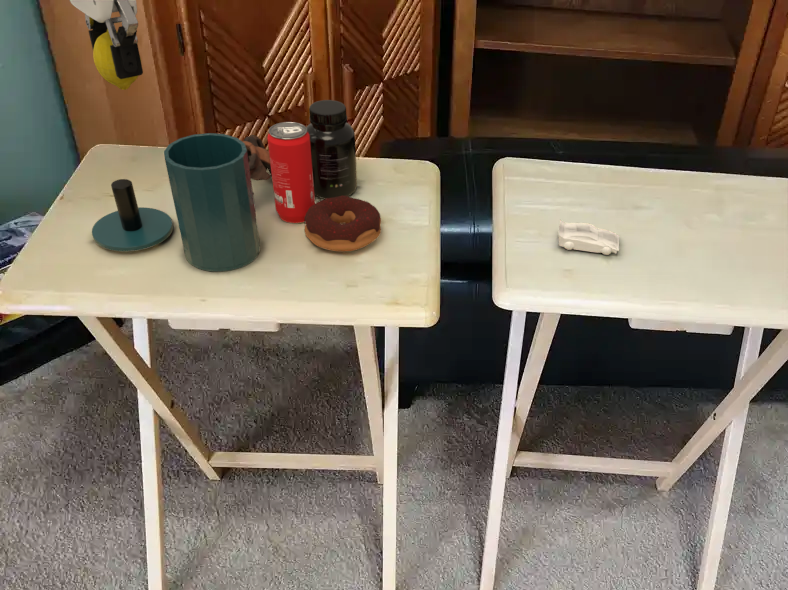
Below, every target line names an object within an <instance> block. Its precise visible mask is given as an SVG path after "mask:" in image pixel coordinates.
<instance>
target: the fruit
mask: <svg viewBox="0 0 788 590" xmlns="http://www.w3.org/2000/svg"><path fill="white" fill-rule="evenodd" d="M116 32H118V30H116ZM110 45H113V43H112V40H111V37H110V34H109V31H108V29H107V32H105V33H103V34H102V35H100V36H99V37H98V38H97V39H96V42H95V44H94V50H93V49H92V52H93V53H92V57H93V58H92V59H93V63H94V65H95V68H96V70H97V72H98V74H99V75H100V76H101V77H102V78H103V79H104V80H105V81H106V83H109V84H111V85H113V86H115V87H116V88H118V89H119V90H122V91H125V90H128V89H130V87H131V85H133V84H134V82H136V80H137V79H138V78H139V76H134V77H129V78H124V79H120V78H118V77H117V75H116V71H115V66H114V62H113V57H112V53H111V48H110ZM140 59H141V60H142V58H141V57H140Z"/></svg>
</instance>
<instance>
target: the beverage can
mask: <svg viewBox="0 0 788 590" xmlns="http://www.w3.org/2000/svg"><path fill="white" fill-rule="evenodd" d="M306 127H307V126H306V125H304V124H302V123H299V122H295V121H293V122H292V121H284V122H279V123H278V122H277V123H276V124H273V125H272V126H270V127H269V128H268V134H267V136H266V137H267V138H266V139H267V146H268V151H269V156H270V164H271V173H272V178H271V180H272V190H273V197H274V206H275V211H276V212H277V214H278V215H279V218H280V219H281V220H282V221H283V222H285V223H288V224H303V223H305V219H304V218H305V215H306V213H307V211H308V209H309V208H310V207H311V206H312V205H314V204H316V197H315V195H314V184H313V172H312V159H311V147H310V136H309V133H308V132H307V128H306Z"/></svg>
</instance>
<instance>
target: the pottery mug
mask: <svg viewBox="0 0 788 590" xmlns="http://www.w3.org/2000/svg"><path fill="white" fill-rule="evenodd" d="M241 141H242V142H243V143H245V146H246V149H247V155H248V162H249V169H250V176H251V180H254V181H257V182H258V181H268V180H269V179H272V173H271V164H270V156H269V149H268V150H267V149H266V148H265V145H264V142H263V140H262V139H261V138H260V137H259V136H258V135H255V134H250V135H248V136H246V137H244V139H243V140H241ZM254 194H255V193H254V192H253V196H254Z"/></svg>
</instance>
